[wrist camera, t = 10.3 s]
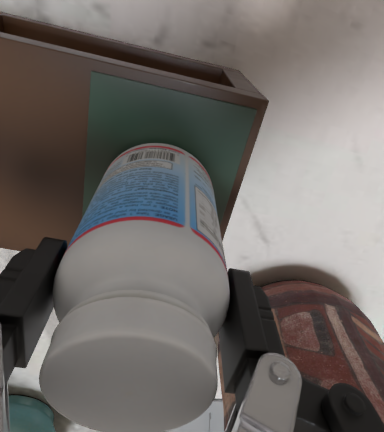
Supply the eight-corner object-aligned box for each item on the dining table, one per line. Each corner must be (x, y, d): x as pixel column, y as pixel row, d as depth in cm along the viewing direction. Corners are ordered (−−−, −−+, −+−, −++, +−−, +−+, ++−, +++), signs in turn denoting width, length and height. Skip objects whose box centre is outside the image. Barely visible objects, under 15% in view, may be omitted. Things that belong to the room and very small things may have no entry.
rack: (-10, 9, 23) (-142, 3, 14) (239, 70, 25) (270, 101, 16) (3, 167, 29) (-83, 237, 20) (202, 205, 31) (209, 283, 22)
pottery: (200, 359, 43) (208, 550, 28) (220, 254, 34) (248, 450, 19) (330, 366, 44) (407, 552, 29) (383, 266, 35) (536, 460, 20)
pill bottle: (89, 214, 19) (-14, 422, 9) (127, 118, 16) (38, 273, 6) (183, 252, 20) (180, 464, 11) (234, 170, 17) (292, 359, 8)
